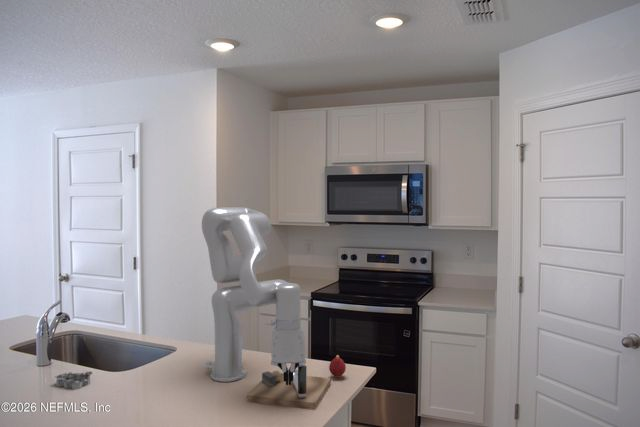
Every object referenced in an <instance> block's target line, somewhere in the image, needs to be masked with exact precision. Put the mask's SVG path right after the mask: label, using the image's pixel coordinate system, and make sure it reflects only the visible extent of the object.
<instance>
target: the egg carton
mask: <svg viewBox="0 0 640 427" xmlns="http://www.w3.org/2000/svg"><path fill="white" fill-rule="evenodd" d="M92 374H93V372H92V371H85V372H74V373H73V372H72V371H69V372H64V373H62V374H61V373H60V374H58V375H54V376H53V377H54V378H55V379H56V387H57V388H58V387H63V388H64V389H69V388H71V390H78V389H83V386H89V385H91V376H92Z"/></svg>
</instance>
